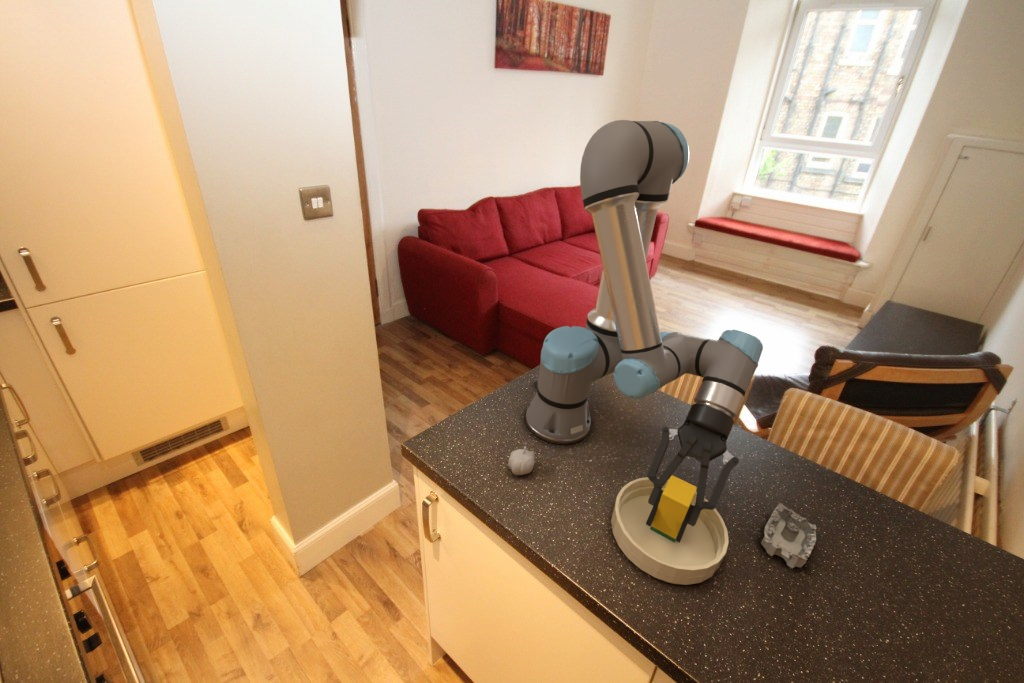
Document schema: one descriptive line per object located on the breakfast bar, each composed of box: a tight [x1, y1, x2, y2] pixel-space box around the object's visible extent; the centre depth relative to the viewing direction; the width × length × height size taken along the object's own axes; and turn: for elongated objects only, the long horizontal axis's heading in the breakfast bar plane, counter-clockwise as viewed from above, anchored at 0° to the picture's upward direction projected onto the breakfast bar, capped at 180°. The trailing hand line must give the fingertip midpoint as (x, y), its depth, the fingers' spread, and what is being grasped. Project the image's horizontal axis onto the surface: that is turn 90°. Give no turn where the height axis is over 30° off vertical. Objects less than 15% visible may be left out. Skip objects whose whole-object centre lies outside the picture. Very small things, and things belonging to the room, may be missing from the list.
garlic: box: [507, 445, 536, 476], centre depth 91 cm, size 6×5×5 cm
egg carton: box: [760, 502, 817, 569], centre depth 80 cm, size 11×8×4 cm
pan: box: [610, 476, 730, 586], centre depth 80 cm, size 19×19×4 cm
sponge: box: [650, 474, 698, 543], centre depth 79 cm, size 5×4×10 cm
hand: (662, 532), depth 77 cm, fingers closed on sponge, 4 cm apart
